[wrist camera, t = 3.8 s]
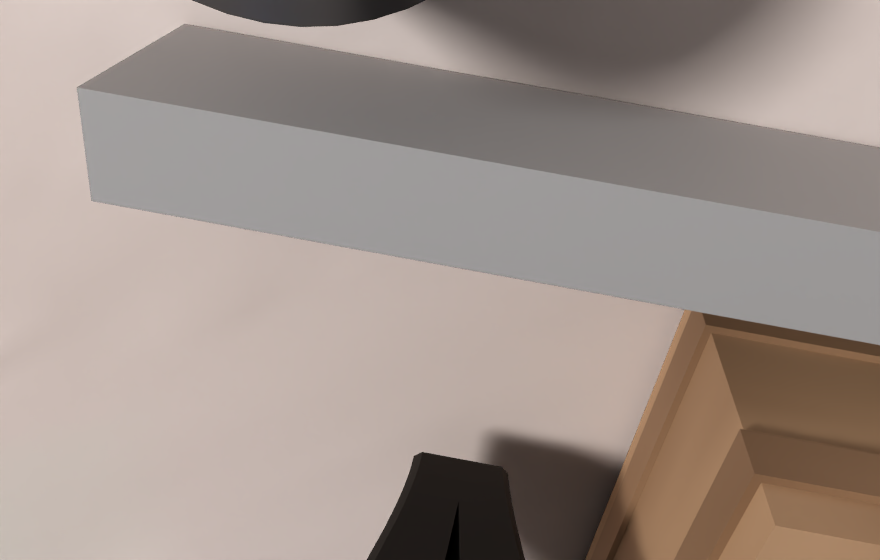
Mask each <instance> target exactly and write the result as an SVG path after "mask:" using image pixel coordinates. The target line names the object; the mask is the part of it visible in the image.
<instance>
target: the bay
mask: <svg viewBox="0 0 880 560" xmlns="http://www.w3.org/2000/svg"><path fill="white" fill-rule="evenodd" d="M77 92H78V100H79V108H80V115H81V123H82V131H83V139H84V146H85V154H86V162H87V170H88V177H89V185H90V193H91V201H94V202H100V203H105V204H111V205H116V206H122V207H127V208H133V209H138V210H144V211H149V212H154V213H160V214H165V215H171V216H176V217H182V218H187V219H193V220H198V221H204V222H209V223H215V224H220V225H226V226H231V227H237V228H242V229H247V230H253V231H258V232H264V233H269V234H275V235H280V236H286V237H291V238H297V239H302V240H308V241H313V242H319V243H324V244H329V245H335V246H340V247H346V248H351V249H357V250H362V251H368V252H373V253H379V254H384V255H390V256H395V257H401V258H406V259H412V260H417V261H422V262H428V263H433V264H439V265H444V266H450V267H455V268H461V269H466V270H472V271H477V272H483V273H488V274H494V275H499V276H505V277H510V278H515V279H521V280H526V281H532V282H537V283H543V284H548V285H554V286H559V287H565V288H570V289H576V290H581V291H587V292H592V293H597V294H603V295H608V296H614V297H619V298H625V299H630V300H636V301H641V302H647V303H652V304H658V305H663V306H669V307H674V308H680V309H685V310H690V311H696V312H701V313H707V314H712V315H718V316H723V317H729V318H734V319H740V320H745V321H751V322H756V323H762V324H767V325H773V326H778V327H783V328H789V329H794V330H800V331H805V332H811V333H816V334H822V335H827V336H833V337H838V338H844V339H849V340H855V341H860V342H865V343H871V344H876V345H880V148H879V147H873V146H868V145H862V144H856V143H851V142H845V141H840V140H834V139H828V138H823V137H817V136H811V135H806V134H800V133H795V132H789V131H783V130H778V129H772V128H767V127H761V126H755V125H750V124H744V123H738V122H733V121H727V120H722V119H716V118H710V117H705V116H699V115H694V114H688V113H682V112H677V111H671V110H665V109H660V108H654V107H649V106H643V105H637V104H632V103H626V102H620V101H615V100H609V99H604V98H598V97H592V96H587V95H581V94H576V93H570V92H564V91H559V90H553V89H547V88H542V87H536V86H531V85H525V84H519V83H514V82H508V81H503V80H497V79H491V78H486V77H480V76H474V75H469V74H463V73H458V72H452V71H446V70H441V69H435V68H429V67H424V66H418V65H413V64H407V63H401V62H396V61H390V60H385V59H379V58H373V57H368V56H362V55H356V54H351V53H345V52H340V51H334V50H328V49H323V48H317V47H312V46H306V45H300V44H295V43H289V42H283V41H278V40H272V39H267V38H261V37H255V36H250V35H244V34H238V33H233V32H227V31H222V30H216V29H210V28H205V27H199V26H194V25H188V24H184V25H182V26H180V27H179V28H177V29H175V30H173V31H172V32H170V33H168V34H167V35H165V36H163V37H162V38H160V39H158V40H157V41H155V42H153V43H151V44H150V45H148V46H146V47H145V48H143V49H141V50H140V51H138V52H136V53H134V54H133V55H131V56H129V57H128V58H126V59H124V60H123V61H121V62H119V63H118V64H116V65H114V66H112V67H111V68H109V69H107V70H106V71H104V72H102V73H101V74H99V75H97V76H95V77H94V78H92V79H90V80H89V81H87V82H85V83H84V84H82V85H80V86H79V87H77Z"/></svg>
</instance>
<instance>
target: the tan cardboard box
mask: <svg viewBox="0 0 880 560" xmlns="http://www.w3.org/2000/svg"><path fill="white" fill-rule="evenodd" d="M585 560H880V345H876V344H871V343H865V342H860V341H855V340H849V339H844V338H838V337H833V336H827V335H822V334H816V333H811V332H805V331H800V330H794V329H789V328H783V327H778V326H773V325H767V324H762V323H756V322H751V321H745V320H740V319H734V318H729V317H723V316H718V315H712V314H707V313H701V312H696V311H690V310H685V311H684V313H683V316H682V318H681V321H680V323H679V326H678V328H677V331H676V333H675V336H674V338H673V341H672V343H671V346H670V348H669V351H668V353H667V356H666V358H665V361H664V363H663V366H662V369H661V371H660V374H659V376H658V379H657V381H656V384H655V386H654V389H653V391H652V394H651V396H650V399H649V401H648V404H647V406H646V409H645V411H644V414H643V416H642V419H641V421H640V424H639V426H638V429H637V431H636V434H635V436H634V439H633V441H632V444H631V446H630V449H629V451H628V454H627V456H626V459H625V461H624V464H623V466H622V469H621V471H620V474H619V476H618V479H617V481H616V484H615V486H614V489H613V491H612V494H611V496H610V499H609V501H608V504H607V506H606V509H605V511H604V514H603V516H602V519H601V521H600V524H599V526H598V529H597V531H596V534H595V536H594V539H593V541H592V544H591V546H590V549H589V551H588V554H587V556H586V559H585Z"/></svg>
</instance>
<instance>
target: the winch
mask: <svg viewBox="0 0 880 560" xmlns="http://www.w3.org/2000/svg"><path fill="white" fill-rule="evenodd" d="M193 1H195V2H198V3H201V4H203V5H206V6H208V7H211V8H214V9H216V10H219V11H221V12H224V13H227V14H230V15H234V16H238V17H242V18H246V19H250V20H255V21H259V22H263V23H270V24H279V25H288V26H298V27H312V26H339V25H345V24H351V23H356V22H362V21H368V20H374V19H377V18H380V17H383V16H386V15H389V14H392V13H395V12H399V11H402V10H405V9H408V8H410V7H412V6H414V5H416V4H419V3H421V2H423V1H425V0H193Z"/></svg>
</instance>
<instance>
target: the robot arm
mask: <svg viewBox="0 0 880 560" xmlns="http://www.w3.org/2000/svg"><path fill="white" fill-rule="evenodd" d="M367 560H525V558H524V554H523V551H522V547H521V542H520V538H519V534H518V530H517V526H516V521H515V517H514V512H513V507H512V501H511V495H510V489H509V481H508V474H507V472H506V471H505V470H504V469H503V467H499V466H494V465H489V464H483V463H478V462H473V461H467V460H462V459H457V458H451V457H446V456H440V455H435V454H430V453H424V452H422V453H420V454H418V455H415V456H414V458H413V462H412V466H411V469H410V472H409V475H408V478H407V480H406V483H405V486H404V488H403V491H402V493H401V495H400V497H399V500H398V502H397V504H396V506H395V508H394V510H393V512H392V514H391V516H390V518H389V520H388V522H387V524H386V526H385V528H384V530H383V532H382V533H381V535H380V537H379V539H378V541H377V542H376V544H375V546H374V548H373V550H372V551H371V553H370V555H369V557H368V558H367Z"/></svg>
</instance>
